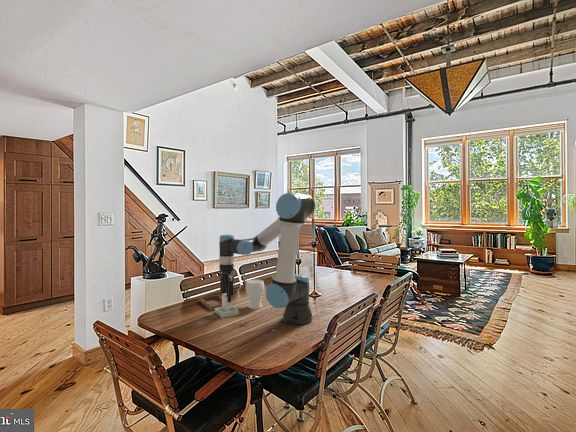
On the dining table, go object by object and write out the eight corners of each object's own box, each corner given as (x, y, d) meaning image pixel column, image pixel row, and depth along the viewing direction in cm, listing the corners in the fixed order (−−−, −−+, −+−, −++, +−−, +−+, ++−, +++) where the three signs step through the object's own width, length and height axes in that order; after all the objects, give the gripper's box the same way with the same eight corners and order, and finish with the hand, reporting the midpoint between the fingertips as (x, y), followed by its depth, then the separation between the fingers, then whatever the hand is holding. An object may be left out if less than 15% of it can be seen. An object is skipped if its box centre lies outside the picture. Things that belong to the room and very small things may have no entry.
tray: (231, 308, 191) (231, 303, 191) (211, 311, 185) (211, 306, 185) (218, 299, 209) (218, 294, 209) (199, 302, 202) (199, 297, 202)
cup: (261, 310, 187) (261, 283, 186) (243, 309, 189) (243, 283, 188) (266, 305, 197) (266, 279, 196) (249, 304, 199) (249, 278, 199)
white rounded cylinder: (232, 313, 181) (232, 294, 180) (224, 314, 178) (224, 296, 178) (229, 310, 185) (229, 292, 184) (220, 312, 182) (220, 294, 182)
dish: (238, 314, 180) (238, 310, 180) (221, 317, 175) (221, 313, 175) (231, 309, 188) (231, 305, 188) (214, 312, 183) (214, 308, 183)
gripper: (240, 265, 175) (239, 309, 176) (226, 260, 190) (226, 301, 191) (226, 266, 171) (226, 312, 172) (214, 261, 186) (214, 303, 187)
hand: (226, 306), depth 181 cm, fingers closed on white rounded cylinder, 5 cm apart
